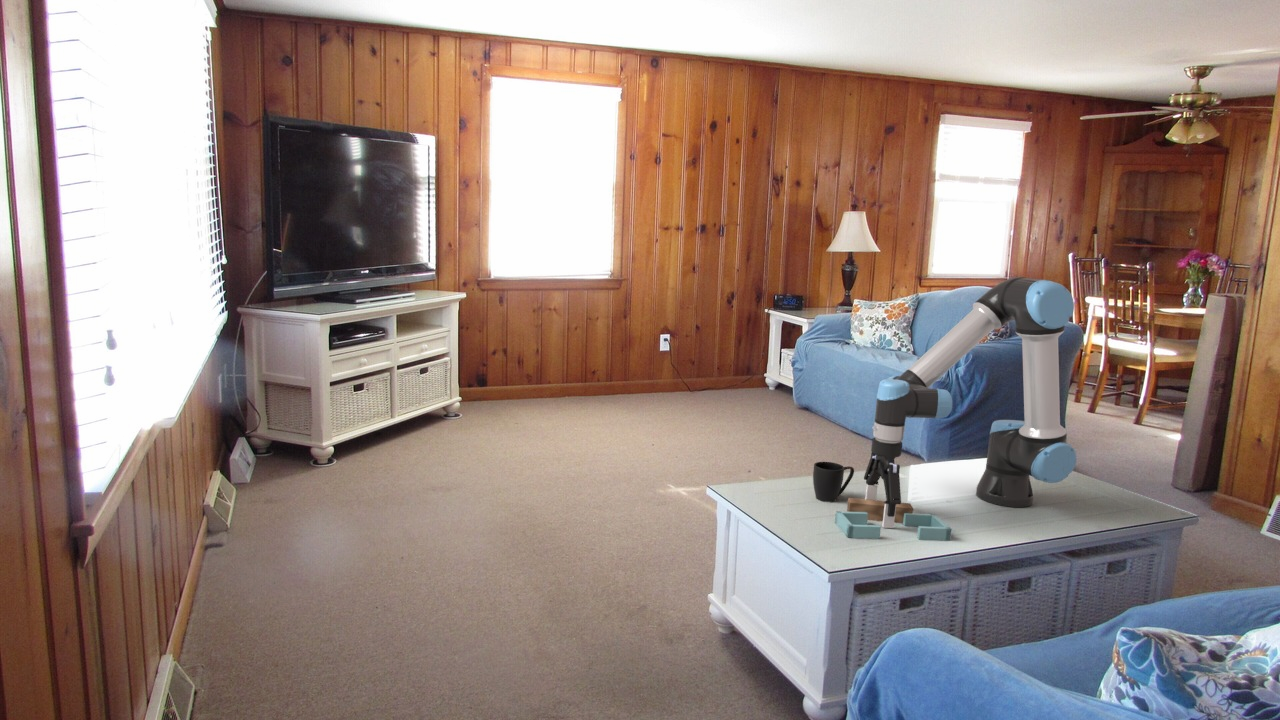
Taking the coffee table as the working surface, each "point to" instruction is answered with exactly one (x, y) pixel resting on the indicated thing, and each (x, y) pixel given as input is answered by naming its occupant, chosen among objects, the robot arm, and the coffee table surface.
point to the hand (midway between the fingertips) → (878, 517)
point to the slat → (877, 509)
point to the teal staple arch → (928, 526)
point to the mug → (829, 480)
